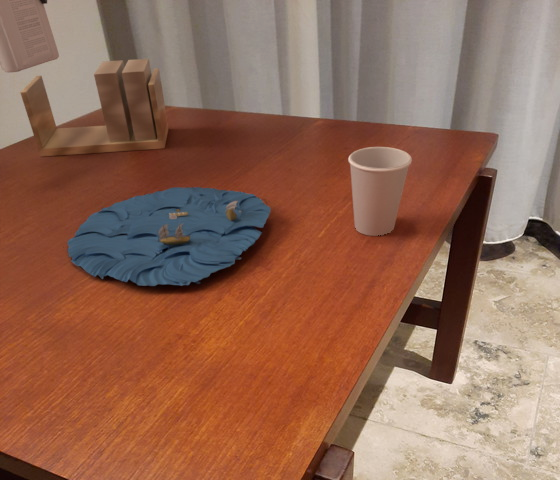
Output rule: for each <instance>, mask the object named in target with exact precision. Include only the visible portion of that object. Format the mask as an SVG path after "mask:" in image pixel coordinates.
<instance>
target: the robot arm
mask: <svg viewBox="0 0 560 480" xmlns="http://www.w3.org/2000/svg"><path fill="white" fill-rule="evenodd" d="M40 1H41V3H42V4H44V5H45V4H46V5H47V4H48V0H40Z"/></svg>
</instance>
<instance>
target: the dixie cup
mask: <svg viewBox="0 0 560 480" xmlns="http://www.w3.org/2000/svg"><path fill="white" fill-rule="evenodd" d="M412 161H413V158H412V156H411V155H410V153H408V152H406V151H405V150H403V149H399V148H395V147H391V146H390V147H388V146H369V147H363V148H360V149H357V150H354V151H353V152H351V154H350V155H349V156H348V163H349V166H350V179H351V193H352V195H351V196H352V207H353V221H354V229H355V228H356V229H355V231H357V232H358V233H359V234H362V235H366V236H370V237H380V235H381V236H385V235H384V234H386V235H388V234H387V233H389V234H390V233H392V232H393V231H394V229H395V225H396V221H397V217H398V213H399V209H400V205H401V200H402V197H403V192H404V188H405V184H406V180H407V175H408V171H409V168H410V165H411V164H412V163H413V162H412ZM392 230H393V231H392ZM391 231H392V232H391ZM378 235H379V236H378Z"/></svg>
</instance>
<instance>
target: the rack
mask: <svg viewBox="0 0 560 480" xmlns="http://www.w3.org/2000/svg"><path fill="white" fill-rule="evenodd" d="M93 77H94V81H95V86H96V90H97V95H98V98H99V102H100V107H101V112H102V115H103V120H104V124H105V125H93V126H75V127H59V128H58V127H57V124H56V121H55V118H54V113H53V111H52V107H51V104H50V101H49V97H48V93H47V90H46V89H47V88H46V86H45V82H44V79H43V76H42V75H36V76H35V77H34V78H33V79H32V80H30V81H29V83H28V84H27V85H26V86H25V87H24V88H22V90H21V91H20V93H19V94H20V96H21V100H22V103H23V105H24V109H25V112H26V116H27V119H28V121H29V124H30V128H31V131H32V134H33V137H34V140H35V144H36V147H37V150H38V153H39V156H40V157H42V158H43V157H55V156H56V157H57V156H73V155H85V154H100V153H101V154H102V153H117V152H131V151H144V150H145V151H146V150H147V151H148V150H163V149H165V148H166V143H167V138H168V135H169V122H168V117H167V110H166V103H165V97H164V92H163V85H162V79H161V73H160V68H154V69H153V71H152V69H151V62H150V58H140V59H139V58H138V59H128V60H127V61H126V63H124V60H123V59H122V60H120V59H119V60H106V61H102V62H101V63H100V65H99V66H98V68H97V69H96V71H95V72H94V73H93Z"/></svg>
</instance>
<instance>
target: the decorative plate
mask: <svg viewBox="0 0 560 480" xmlns="http://www.w3.org/2000/svg"><path fill="white" fill-rule="evenodd" d="M271 210H272V209H271V206H268V205H267V204H266V203H265V202H264V201H263V199H261V198H260V197H258V196H256V195H255V194H254V193H246V192H245V191H240V190H239V191H236V190H227V189H218V188H215V187H213V188H211V187H200V186H195V187H194V186H192V187H189V186H185V187H181V186H180V187H179V186H176V187H175V186H174V187H170V188H167V189H165V190H157V191H155V192H152V193H146V194H143V195H135V196H133V197H129V198H128V199H123V200H122V201H116V202H114V203H113V204H111V205H110V206H106V207H102V208H101V209H100V211H96V212H94V213H91V214H90V215H89V216H88V217H87V219H86V220H85V221H84V222H83V223H81V224H80V225H79V227H78V230H76V231H75V232H74V237H71V238H69V239H68V241H67V246H68V248H67V253H68V257H69V258H71V260H70V262H72V264H74V265H75V266H77V267H81V268H82V270H84V271H85V272H86V273H88V274H89V275H90V276H93V277H94V278H95V277H97V276H98V277H100V279H101V280H104V277H107V276H109V277H110V278H114V279H116V280H119V281H121V282H125V283H128V281H130V282H131V283H134V284H136V285H137V286H142V287H143V286H144V287H146V286H149V287H156V286H157V285H164V286H165V285H170V286H171V285H172V286H179V287H180V286H181V287H183V286H189V285H190V284H191V283H195V284H197V285H199V284H201V282H200V281H201V280H204V279H205V278H208V277H210V275H211V274H212V273H216V272H218V271H220V270H223V269H226V268H230V267H231V266H232V265H235V264H236V260H237V261H238V260H242V257H240V255H242V253H243V252H247V250H248V249H249V248H250V247H252V246H254V244H255V243H256V241H257V240H258V239H259V238H260V236H261V235H262V233H263V232H261V231H260V230H258V229H257V228H260V229H262V228H264V226H265V225H266V224H267V220H268V218H270V214H271Z"/></svg>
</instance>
